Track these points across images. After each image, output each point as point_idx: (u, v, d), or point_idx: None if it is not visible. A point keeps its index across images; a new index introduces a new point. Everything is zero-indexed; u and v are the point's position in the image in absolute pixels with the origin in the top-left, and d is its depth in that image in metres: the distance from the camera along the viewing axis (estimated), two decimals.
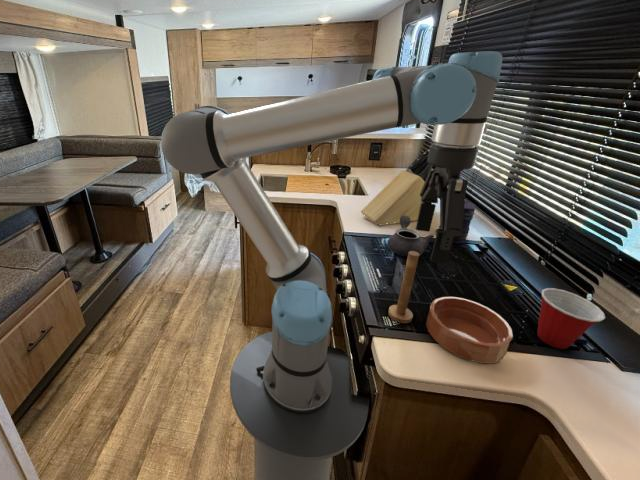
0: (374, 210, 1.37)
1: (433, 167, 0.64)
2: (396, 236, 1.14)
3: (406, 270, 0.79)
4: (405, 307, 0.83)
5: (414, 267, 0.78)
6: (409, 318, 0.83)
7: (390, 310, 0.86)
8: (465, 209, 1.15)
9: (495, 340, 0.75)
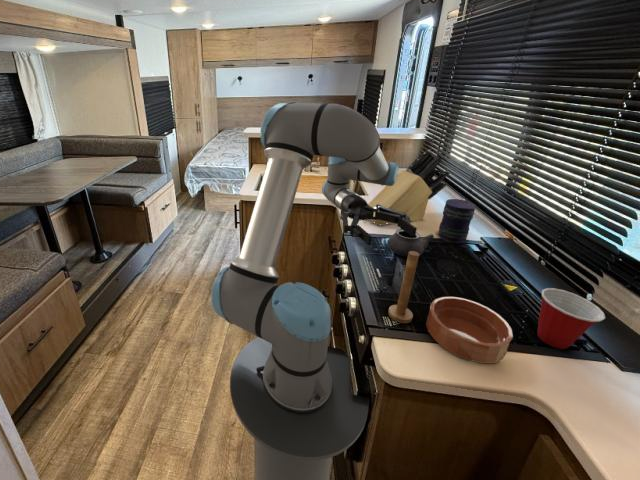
0: None
1: None
2: (396, 236, 1.14)
3: (406, 270, 0.79)
4: (405, 307, 0.83)
5: (414, 267, 0.78)
6: (409, 318, 0.83)
7: (390, 310, 0.86)
8: (465, 209, 1.15)
9: (495, 340, 0.75)
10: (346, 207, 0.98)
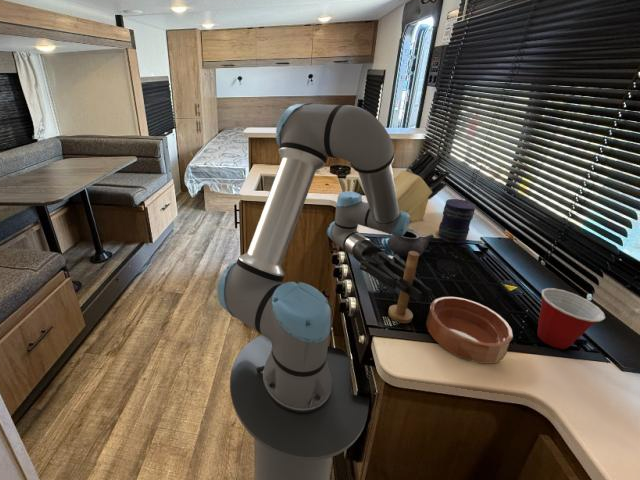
0: None
1: None
2: (396, 236, 1.14)
3: (406, 270, 0.79)
4: (405, 307, 0.83)
5: (414, 267, 0.78)
6: (409, 318, 0.83)
7: (390, 310, 0.86)
8: (465, 209, 1.15)
9: (495, 340, 0.75)
10: (359, 254, 0.93)
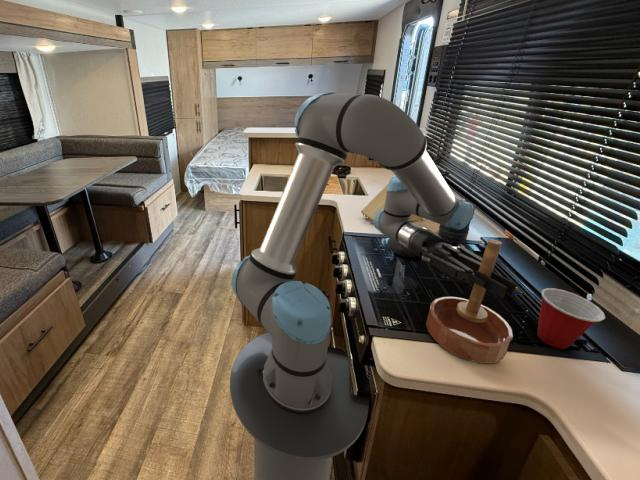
0: (374, 210, 1.37)
1: None
2: None
3: (484, 261, 0.69)
4: (479, 304, 0.73)
5: (495, 258, 0.68)
6: (484, 317, 0.72)
7: (459, 308, 0.75)
8: None
9: (495, 340, 0.75)
10: (419, 245, 0.83)
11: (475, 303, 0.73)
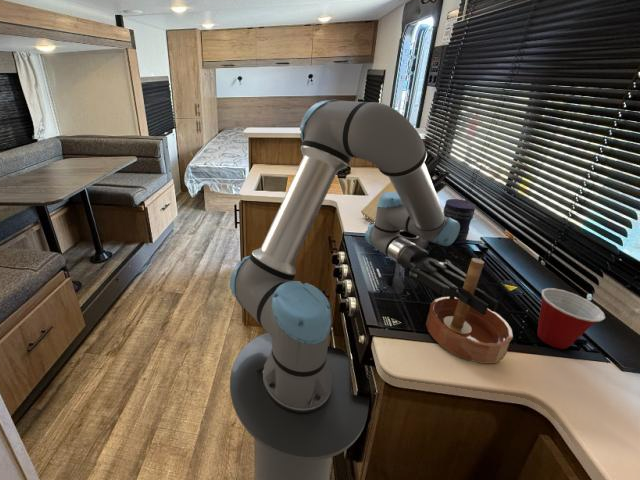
0: (374, 210, 1.37)
1: None
2: None
3: (468, 279, 0.72)
4: (464, 319, 0.75)
5: (478, 276, 0.70)
6: (468, 331, 0.75)
7: (445, 322, 0.78)
8: (465, 209, 1.15)
9: (495, 340, 0.75)
10: (407, 260, 0.86)
11: (460, 318, 0.76)
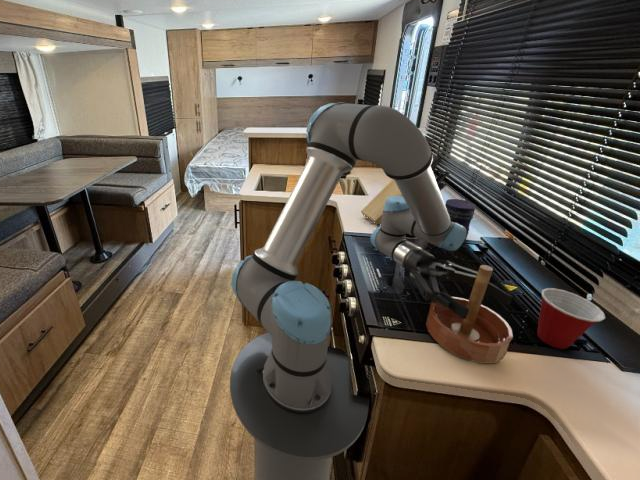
0: (374, 210, 1.37)
1: None
2: None
3: (476, 286, 0.72)
4: (472, 326, 0.75)
5: (486, 283, 0.70)
6: (476, 338, 0.75)
7: (453, 329, 0.78)
8: (465, 209, 1.15)
9: (495, 340, 0.75)
10: (413, 265, 0.85)
11: (468, 325, 0.75)
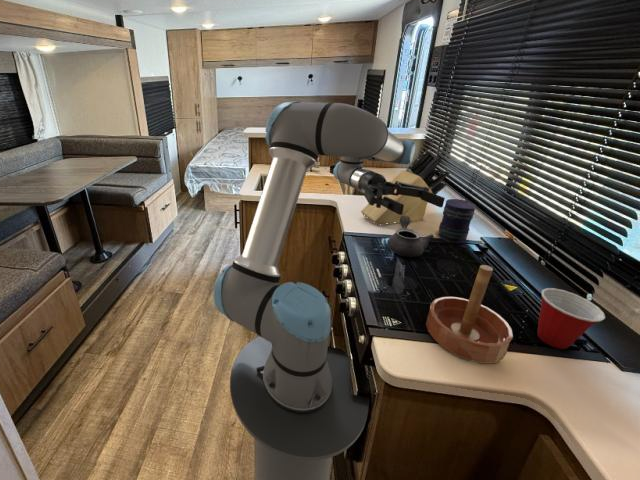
0: (374, 210, 1.37)
1: None
2: (396, 236, 1.14)
3: (476, 286, 0.72)
4: (472, 326, 0.75)
5: (486, 283, 0.70)
6: (476, 338, 0.75)
7: (453, 329, 0.78)
8: (465, 209, 1.15)
9: (495, 340, 0.75)
10: (365, 184, 0.95)
11: (468, 325, 0.75)
